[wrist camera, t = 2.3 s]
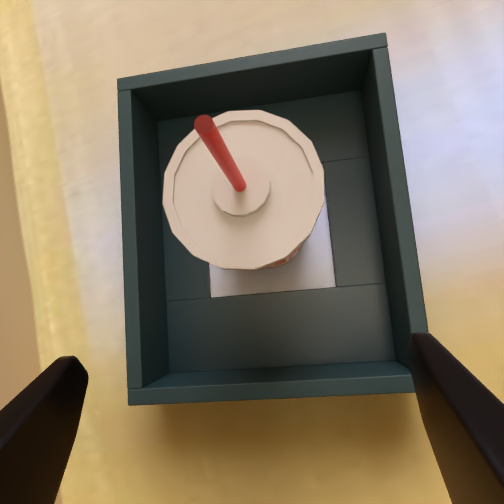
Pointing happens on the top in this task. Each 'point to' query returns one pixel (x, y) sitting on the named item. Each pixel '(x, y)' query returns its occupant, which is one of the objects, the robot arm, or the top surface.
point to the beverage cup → (244, 190)
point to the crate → (278, 303)
